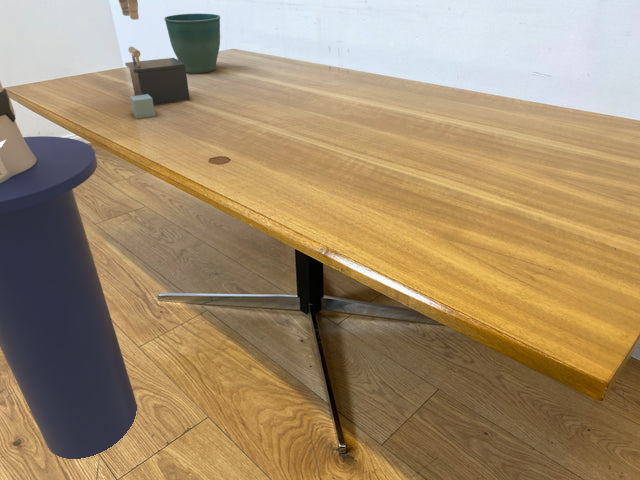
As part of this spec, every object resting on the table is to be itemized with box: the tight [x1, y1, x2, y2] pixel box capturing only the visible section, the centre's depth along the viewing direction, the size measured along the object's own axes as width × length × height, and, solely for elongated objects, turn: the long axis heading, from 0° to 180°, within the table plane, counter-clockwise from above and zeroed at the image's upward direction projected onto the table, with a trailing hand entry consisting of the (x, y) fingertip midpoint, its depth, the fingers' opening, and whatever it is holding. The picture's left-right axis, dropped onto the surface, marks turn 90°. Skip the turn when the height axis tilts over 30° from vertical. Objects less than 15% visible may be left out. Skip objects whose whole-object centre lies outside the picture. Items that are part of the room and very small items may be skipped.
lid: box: [124, 46, 185, 73], centre depth 130 cm, size 13×11×5 cm
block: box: [129, 94, 156, 119], centre depth 122 cm, size 4×4×4 cm
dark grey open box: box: [129, 67, 191, 106], centre depth 134 cm, size 13×11×9 cm
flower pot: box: [163, 13, 221, 74], centre depth 164 cm, size 18×18×17 cm
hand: (130, 17), depth 124 cm, fingers open, 8 cm apart
